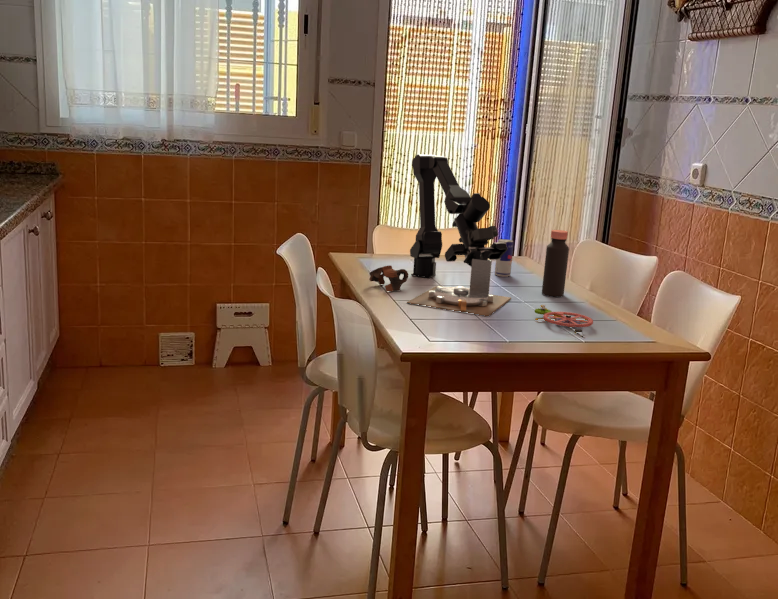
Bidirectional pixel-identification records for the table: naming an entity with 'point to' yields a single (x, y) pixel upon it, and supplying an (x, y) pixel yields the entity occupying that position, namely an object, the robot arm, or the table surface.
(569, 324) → the mechanical gear assembly
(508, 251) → the energy drink
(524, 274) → the table surface
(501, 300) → the base board
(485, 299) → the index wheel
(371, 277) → the pottery mug
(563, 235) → the bottle
